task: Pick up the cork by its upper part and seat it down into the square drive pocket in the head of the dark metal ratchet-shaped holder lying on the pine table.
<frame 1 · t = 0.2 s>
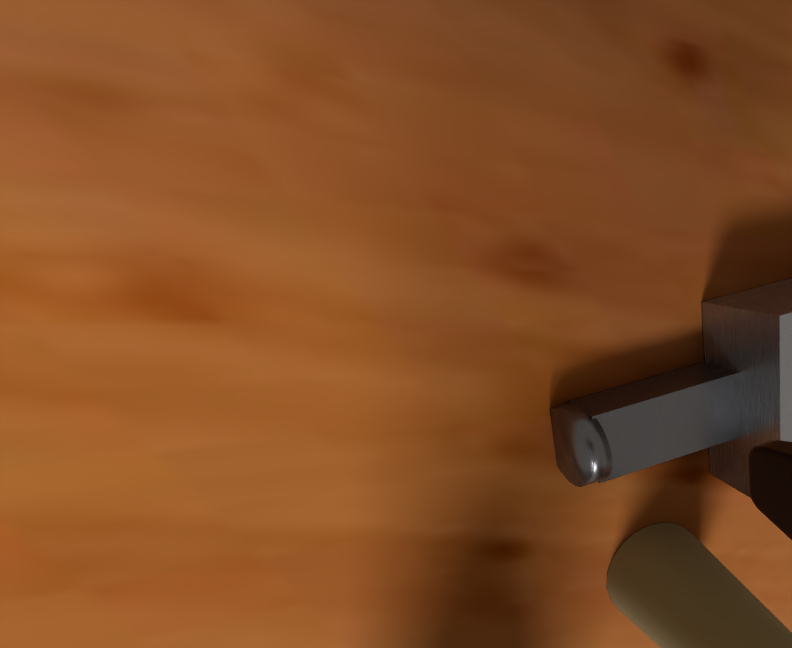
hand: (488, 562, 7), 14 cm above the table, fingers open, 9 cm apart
cork: (650, 567, 27), on the table
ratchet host: (783, 368, 26), on the table
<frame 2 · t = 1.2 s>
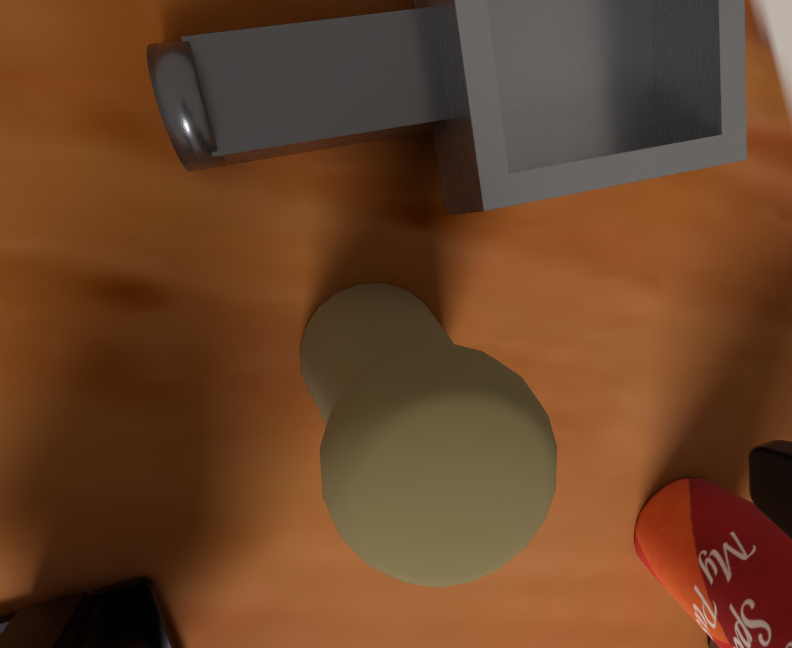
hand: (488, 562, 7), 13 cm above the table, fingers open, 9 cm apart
cork: (373, 353, 20), on the table
paper cup: (677, 524, 25), on the table
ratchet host: (545, 65, 18), on the table
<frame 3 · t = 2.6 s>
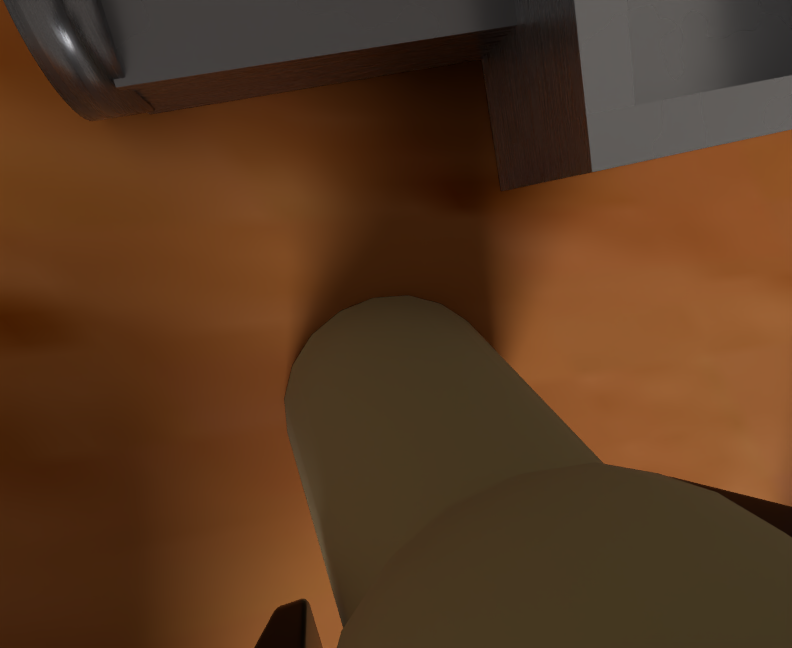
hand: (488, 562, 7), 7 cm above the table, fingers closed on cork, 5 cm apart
cork: (394, 400, 13), on the table, touching gripper
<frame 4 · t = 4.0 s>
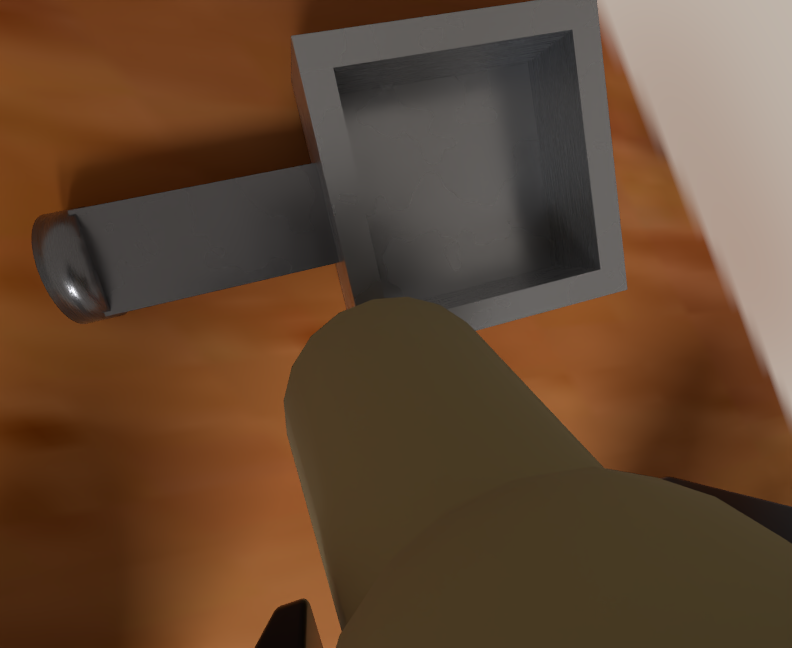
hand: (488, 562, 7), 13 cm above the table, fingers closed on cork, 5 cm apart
cork: (393, 401, 13), point 7 cm above the table, touching gripper
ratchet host: (442, 191, 19), on the table
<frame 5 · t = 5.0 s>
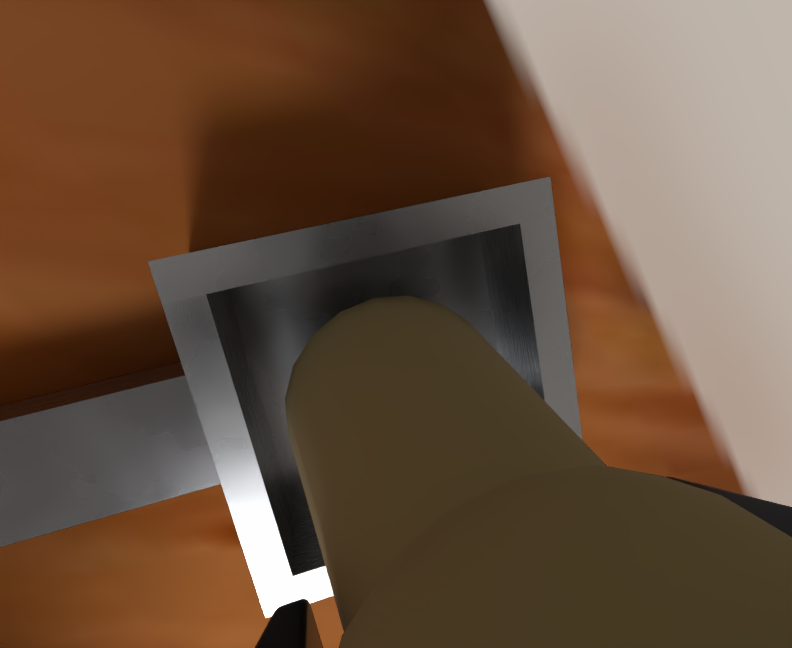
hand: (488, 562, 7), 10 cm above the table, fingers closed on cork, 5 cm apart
cork: (395, 401, 13), point 3 cm above the table, touching gripper
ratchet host: (378, 363, 16), on the table
when the fingers open (9 cm above the table, at t = 5.6 s): cork drops 1 cm, resting on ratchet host.
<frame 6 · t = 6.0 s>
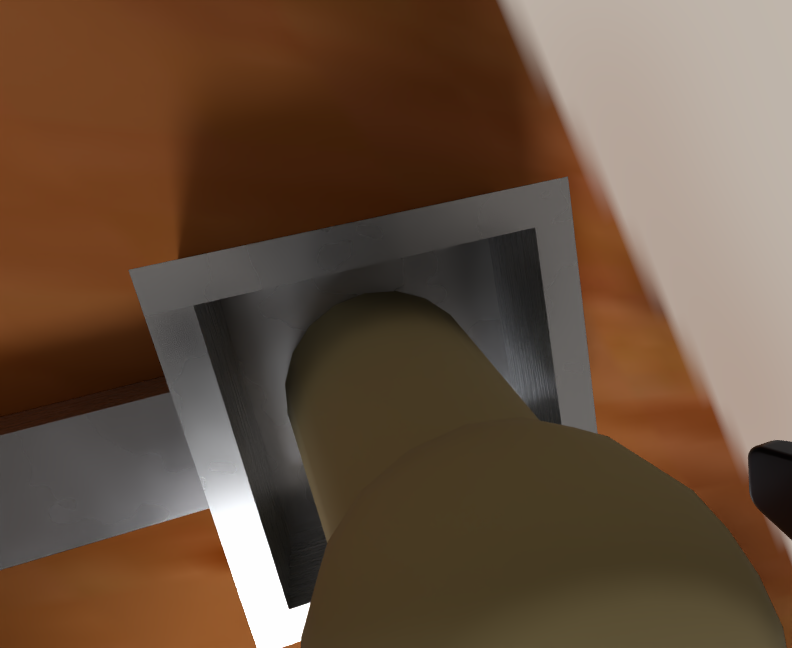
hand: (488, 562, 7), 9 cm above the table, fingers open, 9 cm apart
cork: (384, 386, 15), point 1 cm above the table, touching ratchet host
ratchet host: (381, 375, 15), on the table
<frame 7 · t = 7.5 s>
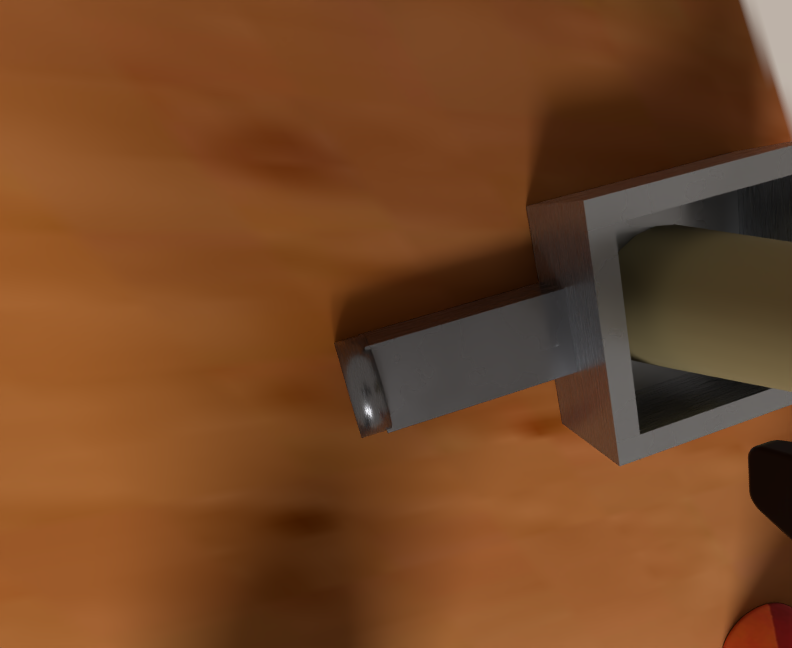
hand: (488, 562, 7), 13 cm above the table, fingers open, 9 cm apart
cork: (658, 295, 20), point 1 cm above the table, touching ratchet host
paper cup: (758, 641, 27), on the table
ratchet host: (645, 290, 21), on the table
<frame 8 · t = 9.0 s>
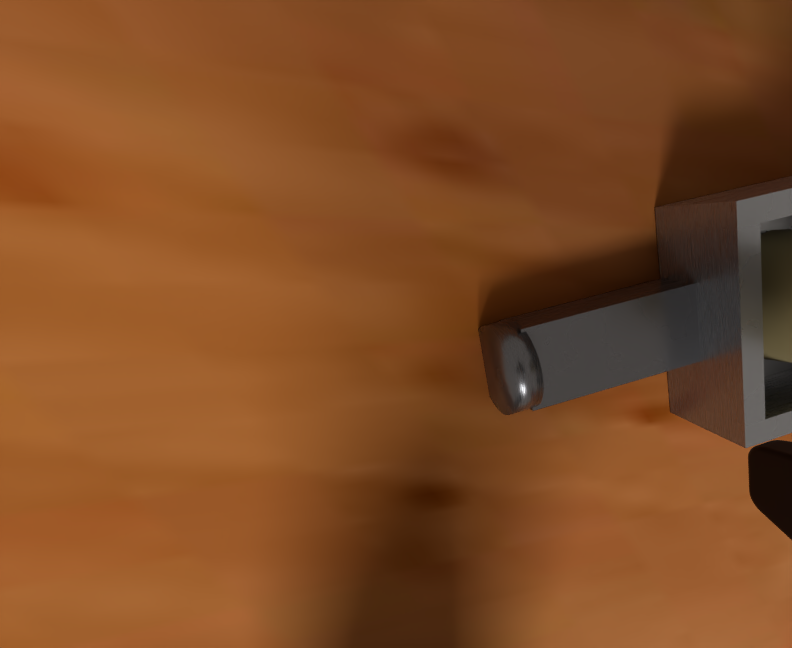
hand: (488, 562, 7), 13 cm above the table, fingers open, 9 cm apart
cork: (768, 294, 22), point 1 cm above the table, touching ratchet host
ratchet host: (752, 290, 23), on the table
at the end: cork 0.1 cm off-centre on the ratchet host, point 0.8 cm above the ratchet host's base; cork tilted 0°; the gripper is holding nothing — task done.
